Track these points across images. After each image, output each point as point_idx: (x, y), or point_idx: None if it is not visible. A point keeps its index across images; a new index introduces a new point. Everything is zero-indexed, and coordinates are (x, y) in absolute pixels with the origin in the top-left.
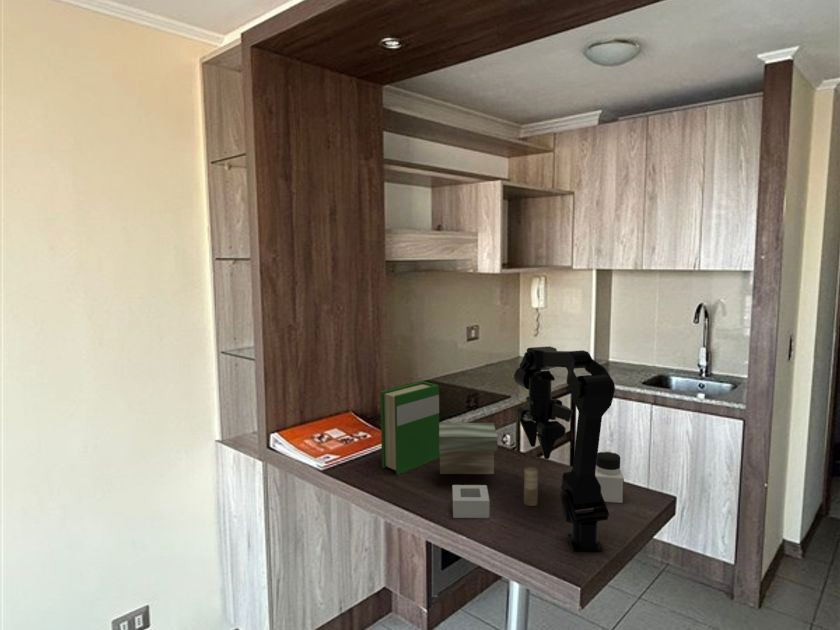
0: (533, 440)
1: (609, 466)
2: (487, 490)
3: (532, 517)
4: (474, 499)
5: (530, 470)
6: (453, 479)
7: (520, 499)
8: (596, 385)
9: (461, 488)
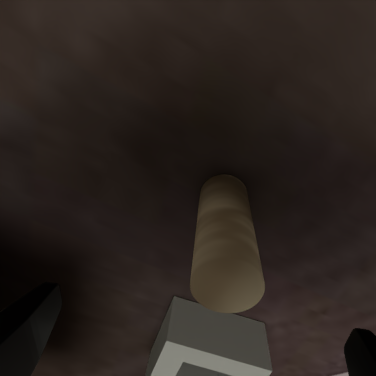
0: (26, 344)
1: None
2: (203, 351)
3: (315, 234)
4: None
5: (232, 292)
6: None
7: (190, 213)
8: None
9: None
